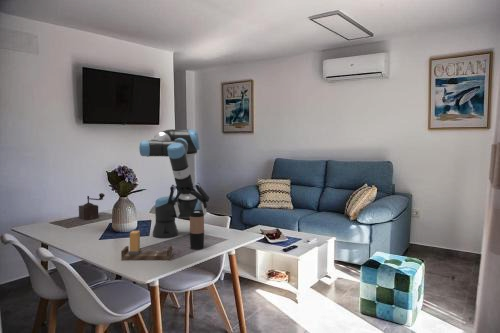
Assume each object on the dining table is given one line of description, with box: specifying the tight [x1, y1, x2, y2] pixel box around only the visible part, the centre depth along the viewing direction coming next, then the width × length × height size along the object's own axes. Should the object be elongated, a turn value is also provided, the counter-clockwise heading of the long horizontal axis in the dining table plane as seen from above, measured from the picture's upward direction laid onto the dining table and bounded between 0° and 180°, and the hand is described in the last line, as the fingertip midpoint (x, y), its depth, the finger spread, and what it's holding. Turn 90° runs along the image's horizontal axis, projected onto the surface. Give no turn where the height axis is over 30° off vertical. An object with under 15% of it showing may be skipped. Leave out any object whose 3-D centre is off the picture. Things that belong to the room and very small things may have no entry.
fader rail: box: [120, 245, 173, 261], centre depth 180 cm, size 23×8×4 cm, turn 93°
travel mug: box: [189, 209, 205, 251], centre depth 196 cm, size 8×8×20 cm
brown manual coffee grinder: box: [78, 192, 105, 221], centre depth 267 cm, size 16×11×18 cm
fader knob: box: [129, 230, 142, 255], centre depth 179 cm, size 4×6×10 cm
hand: (191, 214), depth 177 cm, fingers open, 13 cm apart
